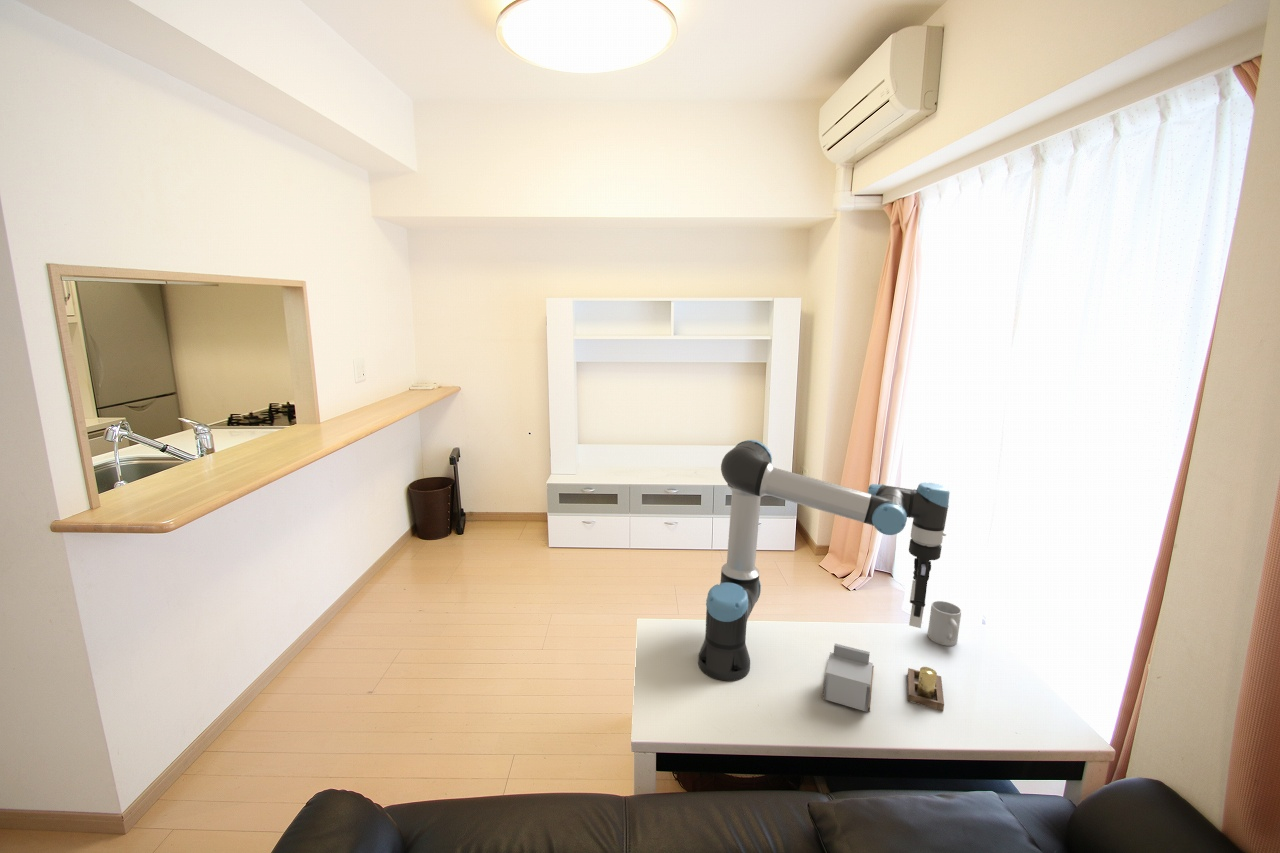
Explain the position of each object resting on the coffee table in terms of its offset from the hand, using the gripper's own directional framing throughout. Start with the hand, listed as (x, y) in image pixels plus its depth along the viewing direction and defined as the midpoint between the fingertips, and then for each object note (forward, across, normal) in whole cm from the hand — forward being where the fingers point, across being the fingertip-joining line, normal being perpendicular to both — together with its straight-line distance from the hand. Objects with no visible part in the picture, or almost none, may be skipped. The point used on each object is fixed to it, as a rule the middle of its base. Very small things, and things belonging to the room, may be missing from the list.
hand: (914, 614), depth 150 cm
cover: (+21, -14, +14) cm, 28 cm away
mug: (+22, +30, -11) cm, 39 cm away
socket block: (+22, 0, -5) cm, 22 cm away
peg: (+22, -4, -5) cm, 22 cm away
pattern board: (+22, -6, +14) cm, 27 cm away
